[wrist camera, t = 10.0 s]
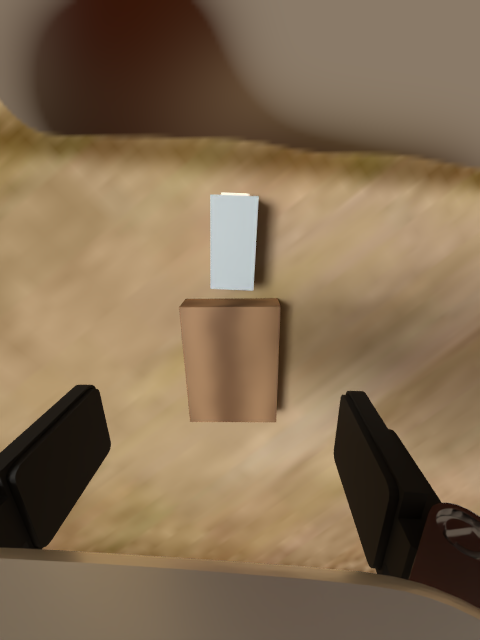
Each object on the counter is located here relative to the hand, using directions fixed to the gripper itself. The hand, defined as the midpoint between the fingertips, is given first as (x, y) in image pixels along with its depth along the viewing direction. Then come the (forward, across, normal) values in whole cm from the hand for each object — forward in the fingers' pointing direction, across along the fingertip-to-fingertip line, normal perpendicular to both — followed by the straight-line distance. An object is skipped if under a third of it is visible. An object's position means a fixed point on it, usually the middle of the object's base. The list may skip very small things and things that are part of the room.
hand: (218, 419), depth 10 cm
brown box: (+20, +1, +8) cm, 21 cm away
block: (+18, +1, -1) cm, 18 cm away
